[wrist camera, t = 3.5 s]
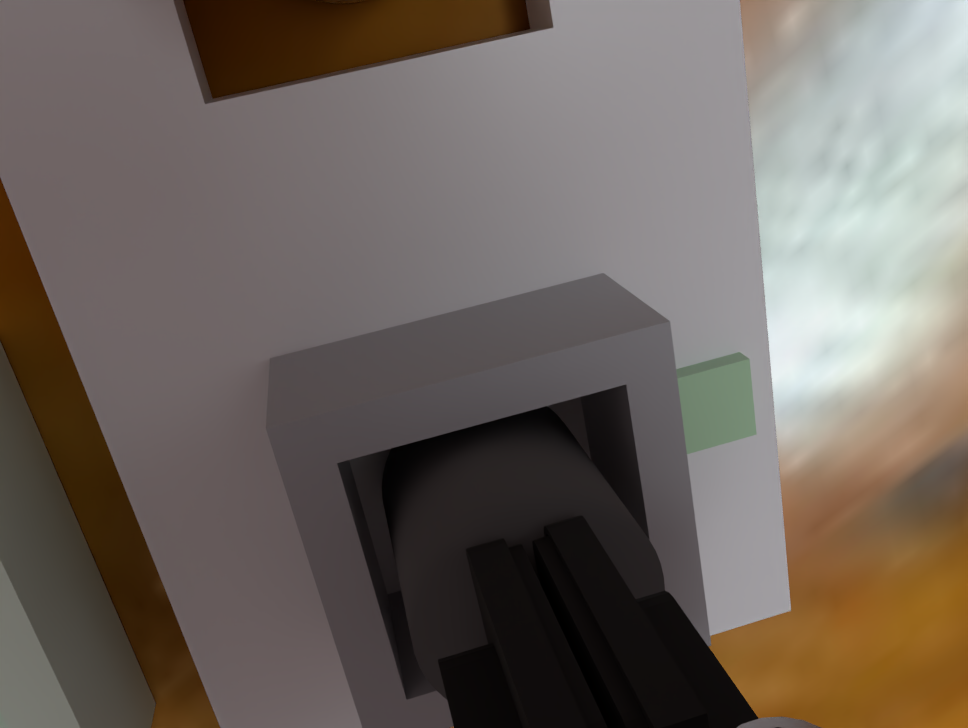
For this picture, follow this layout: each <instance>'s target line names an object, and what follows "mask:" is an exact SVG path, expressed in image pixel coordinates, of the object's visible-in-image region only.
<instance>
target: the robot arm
mask: <svg viewBox="0 0 968 728" xmlns="http://www.w3.org/2000/svg"><path fill="white" fill-rule="evenodd" d="M544 536H545V537H542V538H539V539H536V540H533V541H532V544H533V550H534V555H535V560H536V565H537V570H538V574H539V579H540V582H539V580H538V578H537V576H536V573H535V571H534V569H533V567H532V565H531V563H530V561H529V559H528V556H527V554H526V552H525V550H524V548H523V546H522V544H518V545H515V546H512V547H508V546H507V544H506V542H505V540H504V538H501V539H498V540H494V541H491V542H487V543H484V544H480V545H477V546H473V547H470V548H467V549H466V554H467V559H468V563H469V567H470V571H471V575H472V580H473V584H474V588H475V592H476V596H477V600H478V604H479V608H480V612H481V617H482V621H483V625H484V629H485V633H486V637H487V641H488V644H487V645H484V646H481V647H477V648H474V649H471V650H468V651H464V652H461V653H458V654H454V655H451V656H448V657H445V658H441V659H438V664H439V668H440V672H441V676H442V680H443V684H444V689H445V693H446V697H447V701H448V705H449V709H450V713H451V717H452V721H453V726H454V728H821V727H818V726H816V725H813V724H811V723H808V722H806V721H804V720H798V719H792V718H786V717H770V718H759V719H758V717H757V716H756V714H755V713H754V711H753V710H752V709H751V707H750V706H749V704H748V703H747V701H746V700H745V698H744V697H743V696H742V694H741V693H740V691H739V690H738V688H737V687H736V686H735V684H734V683H733V681H732V680H731V678H730V677H729V676H728V674H727V673H726V671H725V670H724V668H723V667H722V666H721V664H720V663H719V661H718V660H717V658H716V657H715V656H714V654H713V653H712V651H711V650H710V648H709V647H708V646H707V644H706V643H705V641H704V640H703V638H702V637H701V636H700V634H699V633H698V631H697V630H696V628H695V627H694V626H693V624H692V623H691V621H690V620H689V618H688V617H687V616H686V614H685V613H684V611H683V610H682V608H681V607H680V606H679V604H678V603H677V601H676V600H675V599H674V597H673V596H672V595H671V594H670V593H669V592H667V591H661V592H658V593H655V594H652V595H648V596H645V597H642V598H638V599H635V597H634V596H633V594H632V593H631V591H630V589H629V588H628V586H627V585H626V583H625V582H624V580H623V578H622V577H621V575H620V574H619V572H618V570H617V569H616V567H615V566H614V564H613V562H612V561H611V559H610V558H609V556H608V554H607V553H606V551H605V550H604V548H603V547H602V545H601V543H600V542H599V540H598V539H597V537H596V535H595V534H594V532H593V531H592V529H591V527H590V526H589V524H588V523H587V521H586V519H585V518H584V517H583V516H581V515H580V516H577V517H574V518H570V519H567V520H563V521H560V522H556V523H553V524H549V525H546V526H544Z"/></svg>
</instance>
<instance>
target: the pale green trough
mask: <svg viewBox="0 0 968 728" xmlns="http://www.w3.org/2000/svg"><path fill="white" fill-rule="evenodd" d="M155 705H156V703H155V700H154V698H153V696H152V693H151V691H150V689H149V687H148V684H147V682H146V680H145V677H144V675H143V673H142V670H141V668H140V666H139V663H138V661H137V659H136V656H135V654H134V652H133V649H132V647H131V645H130V642H129V640H128V638H127V635H126V633H125V631H124V628H123V626H122V624H121V621H120V619H119V617H118V614H117V612H116V610H115V607H114V605H113V603H112V600H111V598H110V596H109V593H108V591H107V589H106V586H105V584H104V582H103V579H102V577H101V575H100V572H99V570H98V568H97V565H96V563H95V561H94V558H93V556H92V554H91V551H90V549H89V547H88V544H87V542H86V540H85V537H84V535H83V533H82V530H81V528H80V526H79V523H78V521H77V519H76V517H75V514H74V512H73V510H72V507H71V505H70V503H69V500H68V498H67V496H66V493H65V491H64V489H63V486H62V484H61V482H60V479H59V477H58V475H57V472H56V470H55V468H54V465H53V463H52V461H51V458H50V456H49V454H48V451H47V449H46V447H45V444H44V442H43V440H42V437H41V435H40V433H39V430H38V428H37V426H36V423H35V421H34V419H33V416H32V414H31V412H30V409H29V407H28V405H27V402H26V400H25V398H24V395H23V393H22V391H21V388H20V386H19V384H18V381H17V379H16V377H15V374H14V372H13V370H12V367H11V365H10V363H9V360H8V358H7V356H6V353H5V351H4V349H3V346H2V344H1V342H0V728H151V725H152V720H153V715H154V710H155Z"/></svg>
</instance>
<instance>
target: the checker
mask: <svg viewBox="0 0 968 728" xmlns="http://www.w3.org/2000/svg"><path fill="white" fill-rule="evenodd" d="M525 1H526V7H527V13H528V19H529V25H530V29H528V30H524V31H519V32H515V33H510V34H506V35H501V36H496V37H492V38H487V39H483V40H478V41H474V42H469V43H464V44H460V45H455V46H451V47H446V48H442V49H437V50H433V51H428V52H423V53H419V54H414V55H410V56H405V57H401V58H396V59H391V60H387V61H382V62H378V63H373V64H369V65H364V66H360V67H355V68H350V69H346V70H341V71H337V72H332V73H328V74H323V75H319V76H314V77H309V78H305V79H300V80H296V81H291V82H287V83H282V84H277V85H273V86H268V87H264V88H259V89H255V90H250V91H246V92H241V93H236V94H232V95H227V96H223V97H218V98H214V99H213V98H212V95H211V92H210V88H209V85H208V82H207V78H206V75H205V72H204V68H203V65H202V62H201V58H200V55H199V52H198V49H197V45H196V42H195V39H194V35H193V32H192V29H191V25H190V22H189V19H188V15H187V12H186V9H185V5H184V2H183V0H0V178H1V181H2V183H3V186H4V188H5V191H6V193H7V196H8V198H9V201H10V203H11V206H12V208H13V211H14V213H15V216H16V218H17V221H18V223H19V226H20V228H21V231H22V233H23V236H24V238H25V241H26V243H27V246H28V248H29V251H30V253H31V256H32V258H33V261H34V263H35V266H36V268H37V271H38V273H39V276H40V278H41V281H42V283H43V286H44V288H45V291H46V293H47V296H48V298H49V301H50V303H51V306H52V308H53V311H54V313H55V316H56V318H57V321H58V323H59V326H60V328H61V331H62V333H63V336H64V338H65V341H66V343H67V346H68V348H69V351H70V353H71V356H72V358H73V361H74V363H75V366H76V368H77V371H78V373H79V376H80V378H81V381H82V383H83V386H84V388H85V391H86V393H87V396H88V398H89V401H90V403H91V406H92V408H93V411H94V413H95V416H96V418H97V421H98V423H99V426H100V428H101V431H102V433H103V436H104V438H105V441H106V443H107V446H108V448H109V451H110V453H111V456H112V458H113V461H114V463H115V466H116V468H117V471H118V473H119V476H120V478H121V481H122V483H123V486H124V488H125V491H126V493H127V496H128V498H129V501H130V503H131V506H132V508H133V511H134V513H135V516H136V518H137V521H138V523H139V526H140V528H141V531H142V533H143V536H144V538H145V541H146V543H147V546H148V548H149V551H150V553H151V556H152V558H153V561H154V563H155V566H156V568H157V571H158V573H159V576H160V578H161V581H162V583H163V586H164V588H165V591H166V593H167V596H168V598H169V601H170V603H171V606H172V608H173V611H174V613H175V616H176V618H177V621H178V623H179V626H180V628H181V631H182V633H183V636H184V638H185V641H186V643H187V646H188V648H189V651H190V653H191V656H192V658H193V661H194V663H195V666H196V668H197V671H198V673H199V676H200V678H201V681H202V683H203V686H204V688H205V691H206V693H207V696H208V698H209V701H210V703H211V706H212V708H213V711H214V713H215V716H216V718H217V721H218V723H219V726H220V728H449V727H453V721H452V717H451V713H450V709H449V705H448V701H447V699H445V698H444V697H443V696H442V695H441V694H440V693H439V692H437V691H436V690H435V689H434V687H433V686H432V685H431V684H430V682H429V681H428V680H427V679H426V677H425V675H424V674H423V672H422V670H421V668H420V667H419V664H418V662H417V659H416V656H415V654H414V649H413V645H412V640H411V635H410V630H409V625H408V620H407V616H406V611H405V606H404V601H403V596H402V591H401V587H400V582H399V577H398V572H397V567H396V562H395V558H394V553H393V548H392V543H391V538H390V533H389V529H388V524H387V519H386V514H385V509H384V504H383V499H382V479H383V472H384V468H385V464H386V460H387V458H388V455H389V453H390V450H391V448H395V447H398V446H402V445H406V444H409V443H413V442H417V441H420V440H424V439H428V438H431V437H435V436H439V435H442V434H446V433H450V432H453V431H457V430H461V429H464V428H468V427H472V426H475V425H479V424H483V423H486V422H490V421H494V420H497V419H501V418H505V417H508V416H512V415H516V414H519V413H523V412H527V411H530V410H534V409H538V408H541V407H545V406H548V407H549V408H550V409H551V410H553V411H554V412H555V413H556V414H557V415H558V416H559V417H560V419H561V420H562V421H563V422H564V423H565V425H566V426H567V427H568V429H569V430H570V431H571V433H572V434H573V436H574V437H575V438H576V440H577V441H578V442H579V444H580V445H581V447H582V448H583V449H584V451H585V452H586V453H587V455H588V456H589V458H590V459H591V460H592V462H593V463H594V464H595V466H596V467H597V469H598V470H599V471H600V473H601V474H602V475H603V477H604V478H605V480H606V481H607V482H608V484H609V485H610V486H611V488H612V489H613V491H614V492H615V493H616V495H617V496H618V497H619V499H620V500H621V502H622V503H623V504H624V506H625V507H626V508H627V510H628V511H629V512H630V514H631V515H632V517H633V518H634V519H635V521H636V522H637V523H638V525H639V526H640V528H641V529H642V530H643V532H644V533H645V534H646V536H647V537H648V539H649V540H650V542H651V544H652V545H653V547H654V549H655V550H656V553H657V555H658V558H659V560H660V563H661V566H662V571H663V575H664V584H665V591H667V592H669V593H670V594H671V595H672V596H673V597H674V599H675V600H676V601H677V603H678V604H679V606H680V607H681V608H682V610H683V611H684V613H685V614H686V616H687V617H688V618H689V620H690V621H691V623H692V624H693V626H694V627H695V628H696V630H697V631H698V633H699V634H700V636H701V637H702V638H703V640H704V641H705V643H706V644H707V646H711V639H710V636H711V635H714V634H717V633H720V632H724V631H727V630H730V629H733V628H737V627H740V626H743V625H746V624H749V623H753V622H756V621H759V620H762V619H765V618H769V617H772V616H775V615H778V614H781V613H785V612H788V611H791V604H790V593H789V581H788V569H787V557H786V545H785V533H784V521H783V509H782V497H781V485H780V473H779V462H778V450H777V438H776V426H775V414H774V402H773V390H772V378H771V366H770V354H769V342H768V331H767V319H766V307H765V295H764V283H763V271H762V259H761V247H760V235H759V223H758V211H757V200H756V188H755V176H754V164H753V152H752V140H751V128H750V116H749V104H748V92H747V80H746V69H745V57H744V45H743V33H742V21H741V9H740V0H525Z"/></svg>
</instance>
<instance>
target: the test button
mask: <svg viewBox="0 0 968 728" xmlns="http://www.w3.org/2000/svg"><path fill="white" fill-rule="evenodd" d="M382 499H383V504H384V509H385V514H386V519H387V524H388V529H389V533H390V538H391V543H392V548H393V553H394V558H395V562H396V567H397V572H398V577H399V582H400V587H401V591H402V596H403V601H404V606H405V611H406V616H407V620H408V625H409V630H410V635H411V640H412V645H413V649H414V654H415V656H416V659H417V662H418V664H419V667H420V668H421V670H422V672H423V674H424V675H425V677H426V679H427V680H428V681H429V682H430V684H431V685H432V686H433V687H434V689H435V690H436V691H437V692H439V693H440V694H441V695H442V696H443V697H444V698H445V699H447V697H446V693H445V689H444V684H443V680H442V676H441V672H440V668H439V664H438V659H441V658H445V657H448V656H451V655H454V654H458V653H461V652H464V651H468V650H471V649H474V648H477V647H481V646H484V645H487V644H488V641H487V637H486V633H485V629H484V625H483V621H482V617H481V612H480V608H479V604H478V600H477V596H476V592H475V588H474V584H473V580H472V575H471V571H470V567H469V563H468V559H467V554H466V549H467V548H470V547H473V546H477V545H480V544H484V543H487V542H491V541H494V540H498V539H501V538H504V540H505V542H506V544H507V546H508V547H512V546H515V545H518V544H522V546H523V548H524V550H525V552H526V554H527V556H528V559H529V561H530V563H531V565H532V567H533V569H534V571H535V573H536V576H537V578H538V580H539V582H540V579H539V574H538V570H537V565H536V560H535V555H534V550H533V544H532V541H533V540H536V539H539V538H542V537H545V536H544V526H546V525H549V524H553V523H556V522H560V521H563V520H567V519H570V518H574V517H577V516H580V515H581V516H583V517H584V518H585V519H586V521H587V523H588V524H589V526H590V527H591V529H592V531H593V532H594V534H595V535H596V537H597V539H598V540H599V542H600V543H601V545H602V547H603V548H604V550H605V551H606V553H607V554H608V556H609V558H610V559H611V561H612V562H613V564H614V566H615V567H616V569H617V570H618V572H619V574H620V575H621V577H622V578H623V580H624V582H625V583H626V585H627V586H628V588H629V589H630V591H631V593H632V594H633V596H634V597H635V599H638V598H642V597H645V596H648V595H652V594H655V593H658V592H661V591H665V584H664V575H663V571H662V566H661V563H660V560H659V558H658V555H657V553H656V550H655V549H654V547H653V545H652V544H651V542H650V540H649V539H648V537H647V536H646V534H645V533H644V532H643V530H642V529H641V528H640V526H639V525H638V523H637V522H636V521H635V519H634V518H633V517H632V515H631V514H630V512H629V511H628V510H627V508H626V507H625V506H624V504H623V503H622V502H621V500H620V499H619V497H618V496H617V495H616V493H615V492H614V491H613V489H612V488H611V486H610V485H609V484H608V482H607V481H606V480H605V478H604V477H603V475H602V474H601V473H600V471H599V470H598V469H597V467H596V466H595V464H594V463H593V462H592V460H591V459H590V458H589V456H588V455H587V453H586V452H585V451H584V449H583V448H582V447H581V445H580V444H579V442H578V441H577V440H576V438H575V437H574V436H573V434H572V433H571V431H570V430H569V429H568V427H567V426H566V425H565V423H564V422H563V421H562V420H561V419H560V417H559V416H558V415H557V414H556V413H555V412H554V411H553V410H551V409H550V408H549V407H548V406H545V407H541V408H538V409H534V410H530V411H527V412H523V413H519V414H516V415H512V416H508V417H505V418H501V419H497V420H494V421H490V422H486V423H483V424H479V425H475V426H472V427H468V428H464V429H461V430H457V431H453V432H450V433H446V434H442V435H439V436H435V437H431V438H428V439H424V440H420V441H417V442H413V443H409V444H406V445H402V446H398V447H395V448H391V450H390V453H389V455H388V458H387V460H386V464H385V468H384V472H383V479H382Z"/></svg>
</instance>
